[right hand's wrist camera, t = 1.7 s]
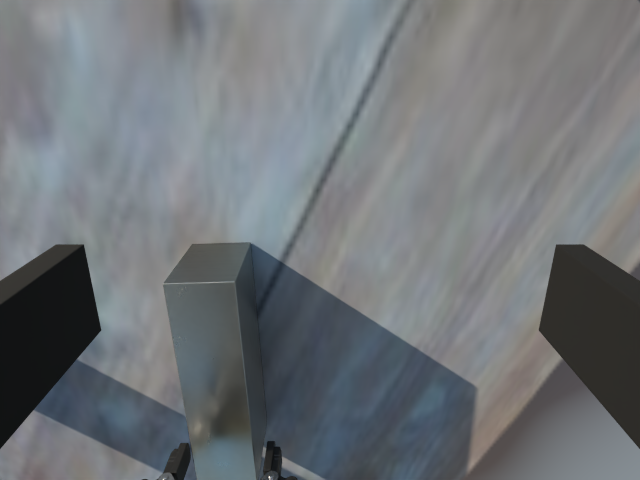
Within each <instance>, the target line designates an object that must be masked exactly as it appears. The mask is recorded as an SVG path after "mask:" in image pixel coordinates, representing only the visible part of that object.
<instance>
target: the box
mask: <svg viewBox="0 0 640 480" xmlns="http://www.w3.org/2000/svg"><path fill="white" fill-rule="evenodd" d="M163 287H164V293H165V298H166V304H167V310H168V316H169V322H170V327H171V333H172V339H173V345H174V351H175V356H176V362H177V368H178V374H179V380H180V385H181V391H182V397H183V403H184V408H185V414H186V420H187V426H188V432H189V437H190V443H191V449H192V455H193V461H194V466H195V472H196V478H197V480H259V473H260V466H261V459H262V452H263V445H264V438H265V432H266V425H267V416H266V405H265V394H264V383H263V372H262V361H261V350H260V339H259V329H258V318H257V307H256V296H255V285H254V274H253V263H252V252H251V243H219V244H192V245H191V247H190V248H189V249H188V251H187V252H186V253H185V255H184V256H183V257H182V259H181V260H180V262H179V263H178V264H177V266H176V267H175V268H174V270H173V271H172V272H171V274H170V275H169V276H168V278H167V279H166V281H165V282H164V283H163Z"/></svg>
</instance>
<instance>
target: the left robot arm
mask: <svg viewBox="0 0 640 480" xmlns="http://www.w3.org/2000/svg"><path fill="white" fill-rule="evenodd" d="M190 457H191V455H190V449H189V444H188V443H181V444H180V446H179V448H178V449H174V451H173V452H172V453H171V455H170V457H169V460H168V462H167V465H166V467H165V470H164V472H163V474H162V475H161V476H160V477H159V479H157V480H184V477H185V474H186V471H187V468H188V465H189V462H190ZM281 466H282V455H281V449H280V447H275V441H268V442H267V448H266V455H265V462H264V469H263V473H264V476H263V477H262V478H261V479H260V480H298V479H297V478H296V477H294V476H290V477H287V478H283V477H281ZM143 480H147V479H143Z"/></svg>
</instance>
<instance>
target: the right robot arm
mask: <svg viewBox="0 0 640 480" xmlns="http://www.w3.org/2000/svg"><path fill="white" fill-rule="evenodd" d="M100 331H101V327H100V322H99V317H98V312H97V307H96V302H95V297H94V292H93V288H92V283H91V278H90V273H89V268H88V263H87V258H86V253H85V248H84V245H55V246H53V247H52V248H50V249H49V250H47V251H46V252H44V253H43V254H41V255H39V256H38V257H36V258H35V259H33V260H32V261H30V262H29V263H27V264H26V265H24V266H23V267H21V268H19V269H18V270H16V271H15V272H13V273H12V274H10V275H9V276H7V277H6V278H4V279H3V280H1V281H0V449H1V447H2V446H3V445H4V444H5V443H6V441H7V440H8V439H9V438H10V437H11V436H12V434H13V433H14V432H15V431H16V430H17V429H18V427H19V426H20V425H21V424H22V423H23V422H24V420H25V419H26V418H27V417H28V416H29V414H30V413H31V412H32V411H33V410H34V409H35V407H36V406H37V405H38V404H39V403H40V402H41V400H42V399H43V398H44V397H45V396H46V395H47V393H48V392H49V391H50V390H51V389H52V387H53V386H54V385H55V384H56V383H57V382H58V380H59V379H60V378H61V377H62V376H63V375H64V373H65V372H66V371H67V370H68V369H69V368H70V366H71V365H72V364H73V363H74V362H75V360H76V359H77V358H78V357H79V356H80V355H81V353H82V352H83V351H84V350H85V349H86V348H87V346H88V345H89V344H90V343H91V342H92V340H93V339H94V338H95V337H96V336H97V335H98V333H99V332H100ZM539 331H540V332H541V333H542V335H543V336H544V337H545V338H546V339H547V340H548V342H549V343H550V344H551V345H552V346H553V348H554V349H555V350H556V351H557V352H558V353H559V355H560V356H561V357H562V358H563V359H564V360H565V362H566V363H567V364H568V365H569V366H570V368H571V369H572V370H573V371H574V372H575V373H576V375H577V376H578V377H579V378H580V379H581V380H582V382H583V383H584V384H585V385H586V386H587V387H588V389H589V390H590V391H591V392H592V393H593V394H594V396H595V397H596V398H597V399H598V400H599V402H600V403H601V404H602V405H603V406H604V407H605V409H606V410H607V411H608V412H609V413H610V414H611V416H612V417H613V418H614V419H615V420H616V422H617V423H618V424H619V425H620V426H621V427H622V429H623V430H624V431H625V432H626V433H627V434H628V436H629V437H630V438H631V439H632V440H633V441H634V443H635V444H636V445H637V446H638V447H639V449H640V281H639V280H637V279H636V278H634V277H633V276H631V275H630V274H628V273H627V272H625V271H624V270H622V269H621V268H619V267H617V266H616V265H614V264H613V263H611V262H610V261H608V260H607V259H605V258H604V257H602V256H601V255H599V254H597V253H596V252H594V251H593V250H591V249H590V248H588V247H587V246H585V245H556V248H555V253H554V258H553V263H552V268H551V273H550V278H549V283H548V288H547V292H546V297H545V302H544V307H543V312H542V317H541V322H540V327H539Z"/></svg>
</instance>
